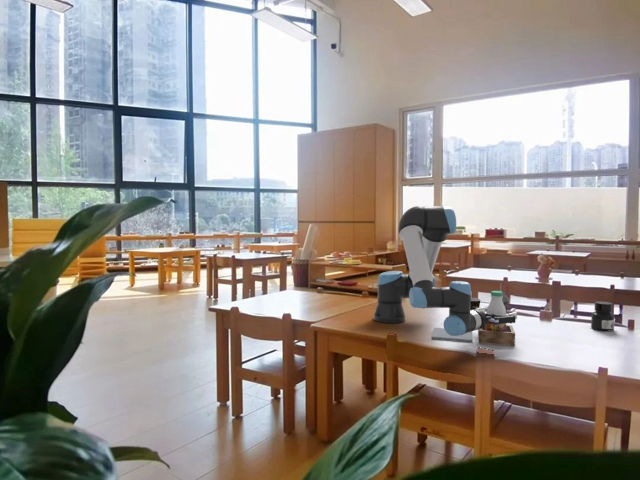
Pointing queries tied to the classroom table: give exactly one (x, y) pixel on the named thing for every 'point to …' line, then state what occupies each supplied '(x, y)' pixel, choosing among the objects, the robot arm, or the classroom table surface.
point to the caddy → (497, 336)
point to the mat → (443, 335)
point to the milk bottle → (496, 311)
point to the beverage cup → (505, 300)
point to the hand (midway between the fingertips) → (499, 312)
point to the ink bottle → (602, 316)
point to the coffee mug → (475, 303)
